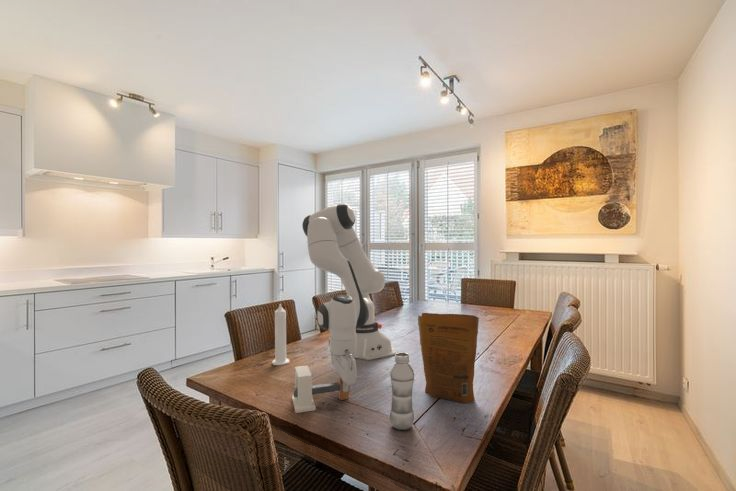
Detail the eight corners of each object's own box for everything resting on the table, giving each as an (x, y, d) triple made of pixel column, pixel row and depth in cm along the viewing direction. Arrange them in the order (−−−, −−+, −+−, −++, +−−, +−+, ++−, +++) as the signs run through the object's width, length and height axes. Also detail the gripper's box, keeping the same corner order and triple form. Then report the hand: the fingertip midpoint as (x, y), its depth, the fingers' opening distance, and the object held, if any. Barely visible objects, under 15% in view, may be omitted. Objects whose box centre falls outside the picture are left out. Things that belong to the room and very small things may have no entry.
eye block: (310, 395, 115) (310, 364, 114) (315, 409, 105) (315, 375, 105) (292, 398, 113) (291, 366, 113) (295, 413, 103) (295, 378, 103)
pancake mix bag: (477, 408, 106) (477, 317, 105) (417, 396, 114) (417, 311, 114) (480, 399, 112) (480, 313, 111) (423, 388, 120) (423, 307, 120)
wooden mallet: (346, 394, 115) (346, 370, 115) (349, 398, 112) (349, 374, 112) (293, 402, 109) (293, 377, 109) (294, 407, 107) (294, 381, 106)
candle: (285, 366, 142) (284, 305, 141) (269, 365, 143) (268, 304, 142) (292, 360, 148) (291, 302, 148) (276, 359, 150) (276, 301, 149)
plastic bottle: (388, 421, 99) (387, 351, 98) (411, 420, 99) (411, 350, 99) (391, 433, 92) (391, 359, 92) (416, 432, 93) (416, 358, 92)
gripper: (362, 354, 104) (362, 400, 104) (344, 336, 123) (345, 375, 124) (341, 357, 102) (341, 403, 102) (327, 338, 121) (327, 377, 122)
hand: (343, 387), depth 113 cm, fingers closed on wooden mallet, 3 cm apart
